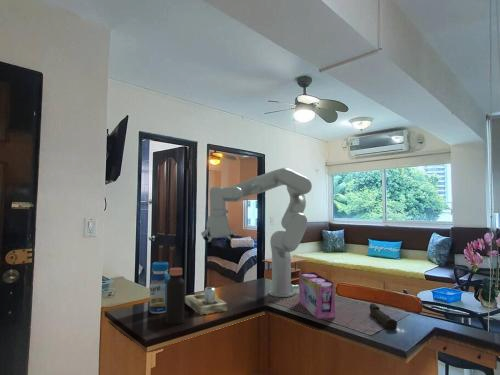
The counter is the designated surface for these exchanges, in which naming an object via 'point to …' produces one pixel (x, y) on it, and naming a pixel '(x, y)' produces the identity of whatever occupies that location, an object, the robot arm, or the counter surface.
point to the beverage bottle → (158, 287)
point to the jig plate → (199, 304)
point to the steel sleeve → (209, 295)
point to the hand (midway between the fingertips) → (218, 249)
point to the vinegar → (175, 297)
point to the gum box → (317, 295)
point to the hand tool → (383, 317)
